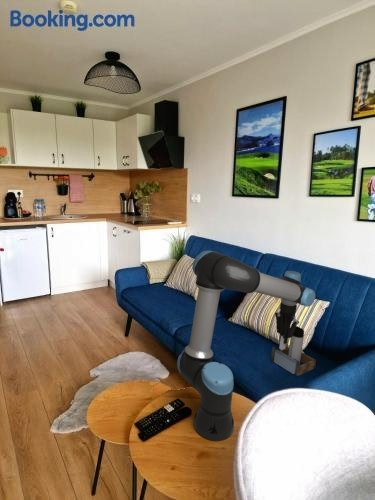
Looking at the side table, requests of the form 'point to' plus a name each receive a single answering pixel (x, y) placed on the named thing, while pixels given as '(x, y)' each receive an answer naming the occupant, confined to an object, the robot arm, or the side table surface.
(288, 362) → the grey rectangular panel
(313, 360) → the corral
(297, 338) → the travel mug
